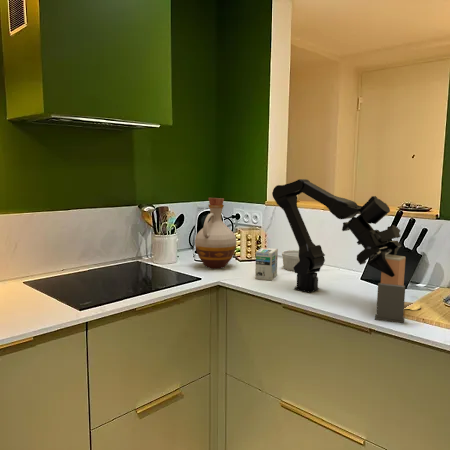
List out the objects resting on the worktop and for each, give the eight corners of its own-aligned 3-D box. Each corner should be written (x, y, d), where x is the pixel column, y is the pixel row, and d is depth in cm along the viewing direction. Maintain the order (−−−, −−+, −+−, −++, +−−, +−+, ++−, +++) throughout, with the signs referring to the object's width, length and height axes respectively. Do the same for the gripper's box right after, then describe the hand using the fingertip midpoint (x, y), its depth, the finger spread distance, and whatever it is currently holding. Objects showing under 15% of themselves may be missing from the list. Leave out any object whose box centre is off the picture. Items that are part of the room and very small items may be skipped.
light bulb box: (271, 281, 158) (272, 253, 157) (254, 279, 160) (255, 251, 159) (277, 274, 168) (278, 248, 167) (261, 273, 170) (261, 247, 169)
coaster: (392, 306, 129) (393, 305, 128) (400, 301, 134) (400, 300, 134) (416, 312, 124) (416, 310, 124) (424, 306, 129) (424, 305, 129)
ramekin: (311, 273, 171) (312, 256, 170) (279, 271, 175) (279, 254, 174) (313, 266, 184) (314, 251, 183) (283, 264, 187) (284, 249, 187)
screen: (374, 319, 117) (376, 284, 116) (375, 316, 120) (377, 282, 119) (404, 323, 114) (406, 288, 113) (404, 320, 117) (406, 285, 116)
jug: (223, 274, 167) (224, 199, 164) (185, 269, 175) (185, 197, 171) (242, 265, 185) (243, 197, 181) (206, 261, 192) (207, 195, 189)
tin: (379, 300, 125) (381, 256, 123) (385, 296, 129) (388, 254, 127) (396, 304, 122) (399, 259, 120) (402, 300, 125) (405, 256, 124)
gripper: (368, 218, 118) (405, 263, 112) (397, 214, 131) (430, 254, 125) (342, 242, 125) (375, 286, 119) (371, 236, 138) (402, 275, 132)
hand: (397, 274), depth 123 cm, fingers closed on tin, 5 cm apart
